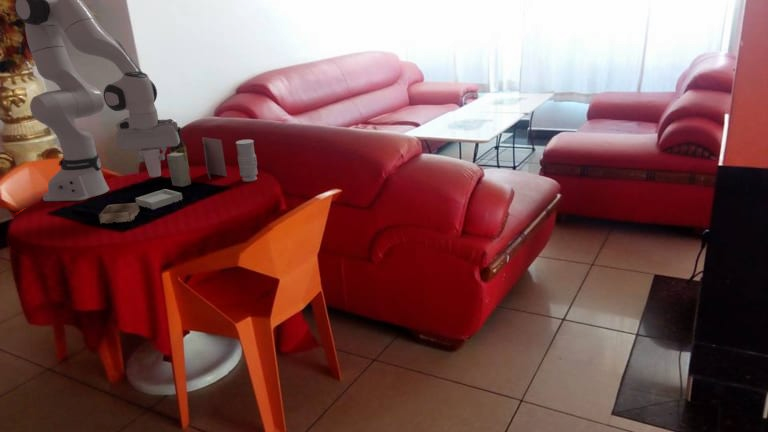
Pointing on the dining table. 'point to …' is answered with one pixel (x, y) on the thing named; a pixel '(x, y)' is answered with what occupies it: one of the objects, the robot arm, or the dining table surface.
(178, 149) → the sauce bottle
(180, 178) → the skincare box
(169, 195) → the tray
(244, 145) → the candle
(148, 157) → the smoothie
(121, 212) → the frame
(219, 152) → the greeting card
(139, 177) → the dining table surface
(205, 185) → the dining table surface
